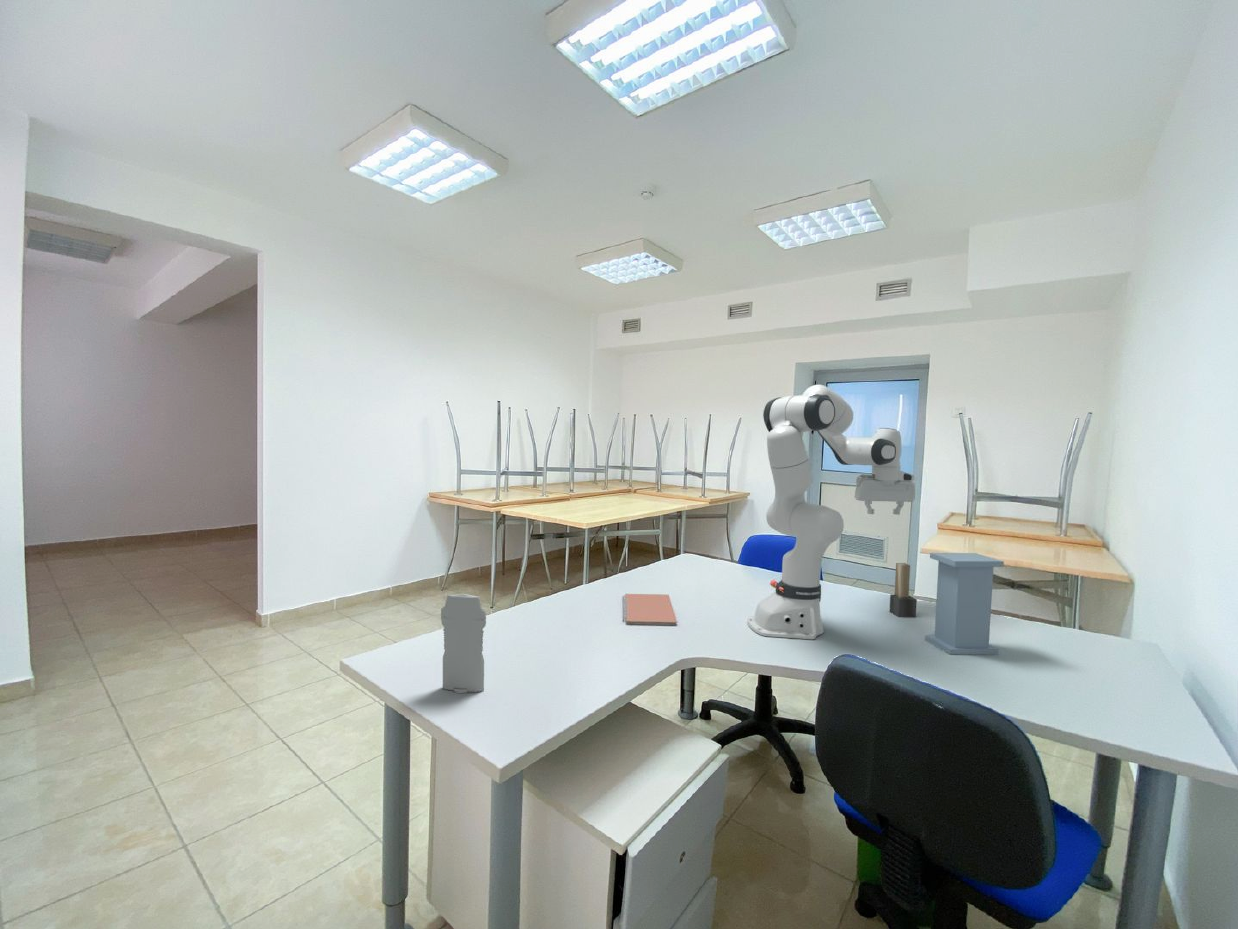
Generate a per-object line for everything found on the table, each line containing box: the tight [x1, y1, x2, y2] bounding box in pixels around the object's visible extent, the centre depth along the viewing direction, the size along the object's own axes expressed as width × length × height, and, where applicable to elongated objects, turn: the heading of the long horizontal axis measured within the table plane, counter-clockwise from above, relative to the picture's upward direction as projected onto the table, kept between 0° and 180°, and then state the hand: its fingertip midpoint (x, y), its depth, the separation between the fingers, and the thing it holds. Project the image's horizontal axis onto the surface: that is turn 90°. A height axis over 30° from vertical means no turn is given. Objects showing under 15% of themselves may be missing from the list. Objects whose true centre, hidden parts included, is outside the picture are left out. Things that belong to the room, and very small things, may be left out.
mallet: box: [889, 562, 918, 618], centre depth 170 cm, size 6×17×5 cm
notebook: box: [621, 593, 678, 626], centre depth 169 cm, size 27×17×2 cm, turn 0°
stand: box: [924, 552, 1005, 656], centre depth 143 cm, size 14×10×26 cm
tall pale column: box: [440, 593, 487, 694], centre depth 114 cm, size 11×4×22 cm, turn 83°
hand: (883, 514), depth 177 cm, fingers open, 8 cm apart
